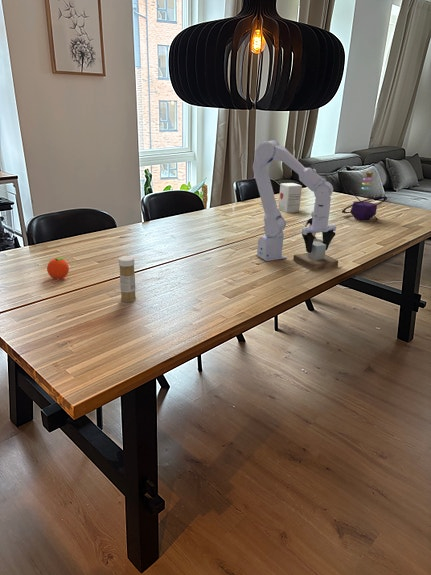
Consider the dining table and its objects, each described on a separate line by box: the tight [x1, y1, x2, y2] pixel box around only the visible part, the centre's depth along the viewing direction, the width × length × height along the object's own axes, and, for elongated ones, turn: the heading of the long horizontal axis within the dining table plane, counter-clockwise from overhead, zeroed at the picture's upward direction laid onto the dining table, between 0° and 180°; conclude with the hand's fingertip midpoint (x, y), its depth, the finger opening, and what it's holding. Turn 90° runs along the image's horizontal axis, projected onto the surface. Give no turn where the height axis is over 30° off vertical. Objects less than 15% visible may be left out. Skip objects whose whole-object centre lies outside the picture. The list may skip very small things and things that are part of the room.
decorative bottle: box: [341, 171, 388, 222], centre depth 235 cm, size 22×21×25 cm
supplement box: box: [277, 182, 303, 214], centre depth 251 cm, size 9×9×15 cm
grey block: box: [307, 241, 327, 260], centre depth 169 cm, size 4×4×6 cm
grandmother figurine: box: [304, 210, 317, 240], centre depth 201 cm, size 8×4×13 cm, turn 105°
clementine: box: [46, 257, 70, 280], centre depth 149 cm, size 8×7×7 cm
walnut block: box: [292, 252, 339, 272], centre depth 171 cm, size 12×12×3 cm
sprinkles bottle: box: [118, 255, 137, 303], centre depth 133 cm, size 5×5×13 cm
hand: (316, 250), depth 169 cm, fingers open, 7 cm apart
